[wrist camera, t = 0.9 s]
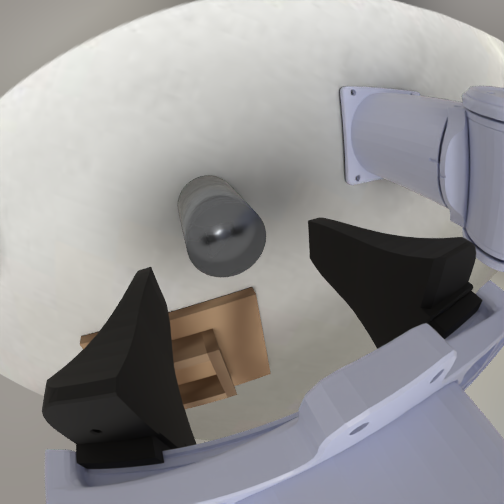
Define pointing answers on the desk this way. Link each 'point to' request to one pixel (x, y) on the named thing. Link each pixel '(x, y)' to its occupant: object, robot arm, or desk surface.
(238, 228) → the pin
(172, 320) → the socket board
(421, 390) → the robot arm
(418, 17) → the desk surface
